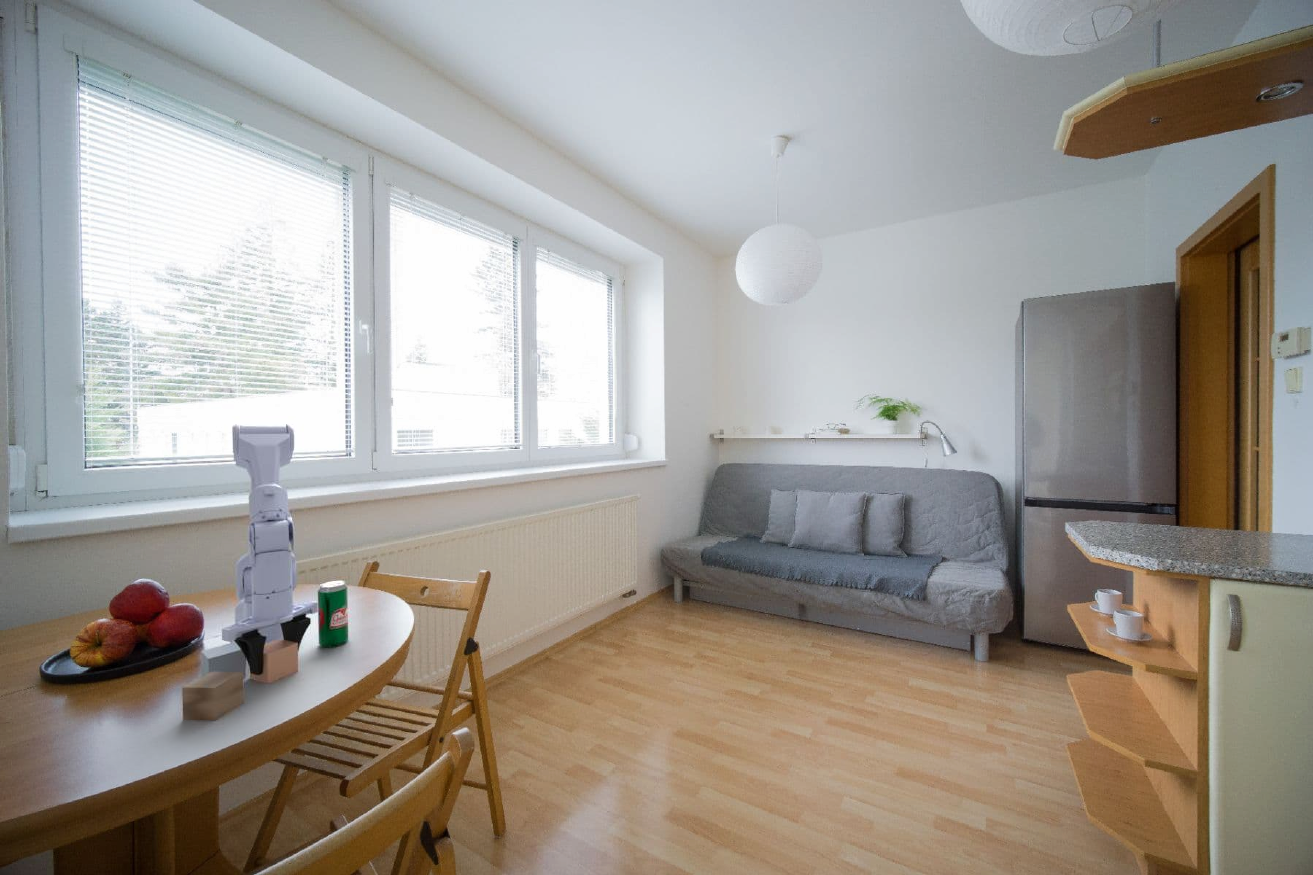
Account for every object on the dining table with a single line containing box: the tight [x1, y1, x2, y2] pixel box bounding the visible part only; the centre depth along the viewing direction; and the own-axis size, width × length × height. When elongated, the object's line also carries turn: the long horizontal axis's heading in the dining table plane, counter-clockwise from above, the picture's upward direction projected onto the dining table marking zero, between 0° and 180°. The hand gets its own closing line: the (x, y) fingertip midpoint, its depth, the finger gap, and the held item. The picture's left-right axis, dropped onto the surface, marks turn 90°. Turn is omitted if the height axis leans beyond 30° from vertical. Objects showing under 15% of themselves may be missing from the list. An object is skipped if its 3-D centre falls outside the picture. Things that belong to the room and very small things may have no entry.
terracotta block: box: [248, 639, 299, 685], centre depth 91 cm, size 5×5×5 cm
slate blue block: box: [200, 642, 247, 678], centre depth 90 cm, size 5×5×5 cm
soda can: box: [317, 580, 349, 648], centre depth 104 cm, size 5×5×12 cm
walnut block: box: [181, 671, 245, 722], centre depth 79 cm, size 5×5×5 cm
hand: (274, 666), depth 91 cm, fingers closed on terracotta block, 5 cm apart
